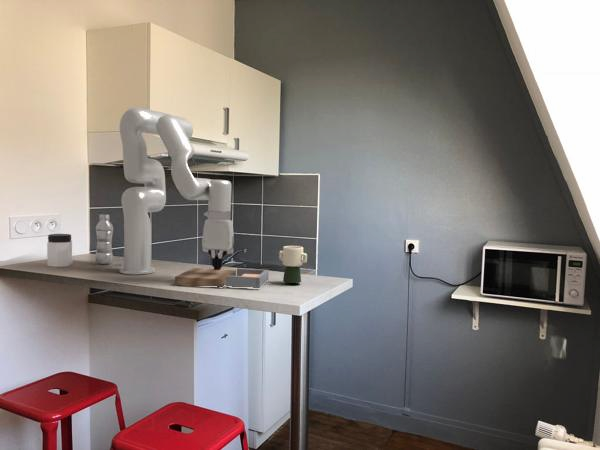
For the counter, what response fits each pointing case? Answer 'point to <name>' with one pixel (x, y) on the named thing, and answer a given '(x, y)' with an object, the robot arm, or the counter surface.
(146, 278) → the counter surface
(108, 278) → the counter surface
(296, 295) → the counter surface
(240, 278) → the box
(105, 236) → the plastic bottle
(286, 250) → the character mug
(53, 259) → the jar
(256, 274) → the orange block
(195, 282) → the platform
